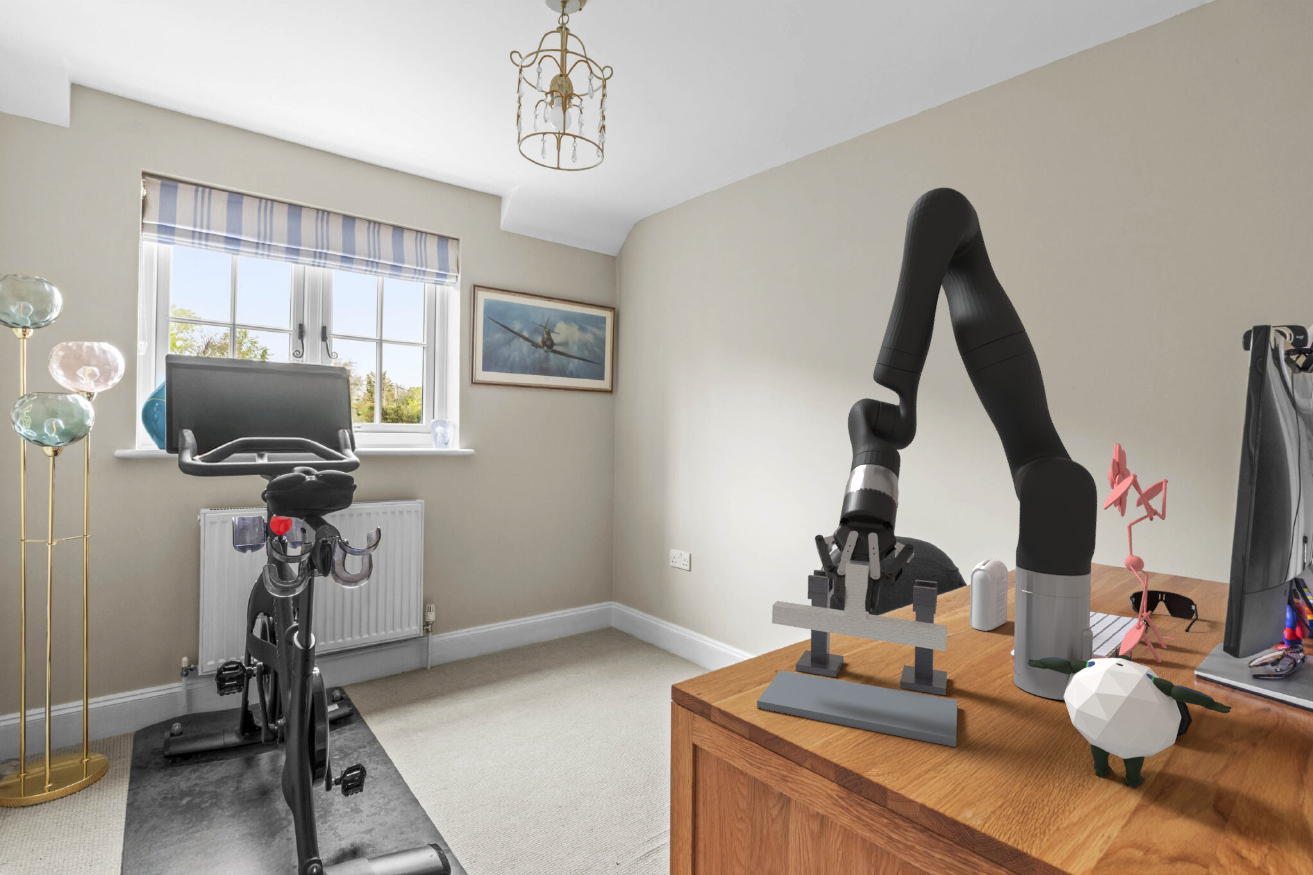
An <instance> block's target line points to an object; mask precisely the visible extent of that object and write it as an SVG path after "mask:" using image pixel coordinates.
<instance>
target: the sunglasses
mask: <svg viewBox="0 0 1313 875" xmlns="http://www.w3.org/2000/svg"><path fill="white" fill-rule="evenodd" d="M1143 591H1144V590H1139V591H1135V592H1133V593H1132V594H1131V595H1129V602H1130V606H1131V609H1132V610H1133V611H1134V612H1135V613H1137V615H1139V612H1140V607H1141V602H1142V596H1143ZM1161 602H1162V603H1163V604H1164V605H1165V608H1166V609H1167V612H1168V613H1169V615H1170V616H1171V617H1172V618H1178V619H1183V620H1191V619H1192V618H1193V617H1195V618H1194V619H1192V620H1191V622H1190V623H1189V624H1188V626H1187V627H1186V629H1184V632H1186V633H1188V632H1190V629H1191V627H1192V626H1193V625H1194V623H1196V621H1197V620H1199V614H1198V607H1197V606H1198V605H1197V604H1196V603H1195V602H1194V600H1193V599H1191V598H1190V597H1188V596H1185V595H1183V594H1180V593H1177V592H1176V593H1175V592H1171V591H1164V590H1155V589H1147V604H1146V612H1147V613H1148V612H1149V611H1151V614H1153V613H1154V612H1155V611H1156V609H1157V607H1158V605H1159V603H1161ZM1143 613H1144V606H1143V611H1142V614H1143ZM1151 614H1150V615H1151ZM1142 617H1143V616H1141V618H1142ZM1143 622H1146V625H1147V626H1146V627H1150V625H1149V623H1148V621H1147V619H1145V620H1144V621H1143Z"/></svg>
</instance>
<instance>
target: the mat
mask: <svg viewBox="0 0 1313 875" xmlns="http://www.w3.org/2000/svg"><path fill="white" fill-rule="evenodd" d="M756 708H757V709H759V708H761V709H760V710H764V711H769V710H770V712H774V711H776V712H775V713H779V712H780V713H779V714H784V713H787V714H786V715H789V714H791V716H794V715H796V716H795V717H799V716H800V717H801V718H806V719H810V720H814V721H821V722H824V723H825V722H827V723H831V724H836V725H841V726H844V727H845V726H846V727H852V728H855V729H861V730H865V731H866V730H867V731H872V732H878V733H882V734H888V735H891V736H897V737H903V738H908V739H912V740H918V741H924V742H927V743H933V744H938V745H943V746H948V747H953V748H957V732H958V731H957V728H958V726H957V724H958V700H957V699H953V698H946V697H942V696H934V695H930V694H924V693H917V692H913V691H906V690H900V689H895V688H888V687H887V688H886V687H882V686H877V685H876V686H875V685H869V684H863V683H858V682H852V681H847V680H841V679H834V678H828V677H824V676H823V677H822V676H817V675H811V674H804V673H799V672H792V671H787V670H779V671H778V673H777V674H776V675H775V677H774V678H773V679H772V680H771V682H770V683H769V685H768V686H766V689H765V690H764V691H763V692H762V694H761V695H760V696H759V698H758V699H757V700H756Z"/></svg>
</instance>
